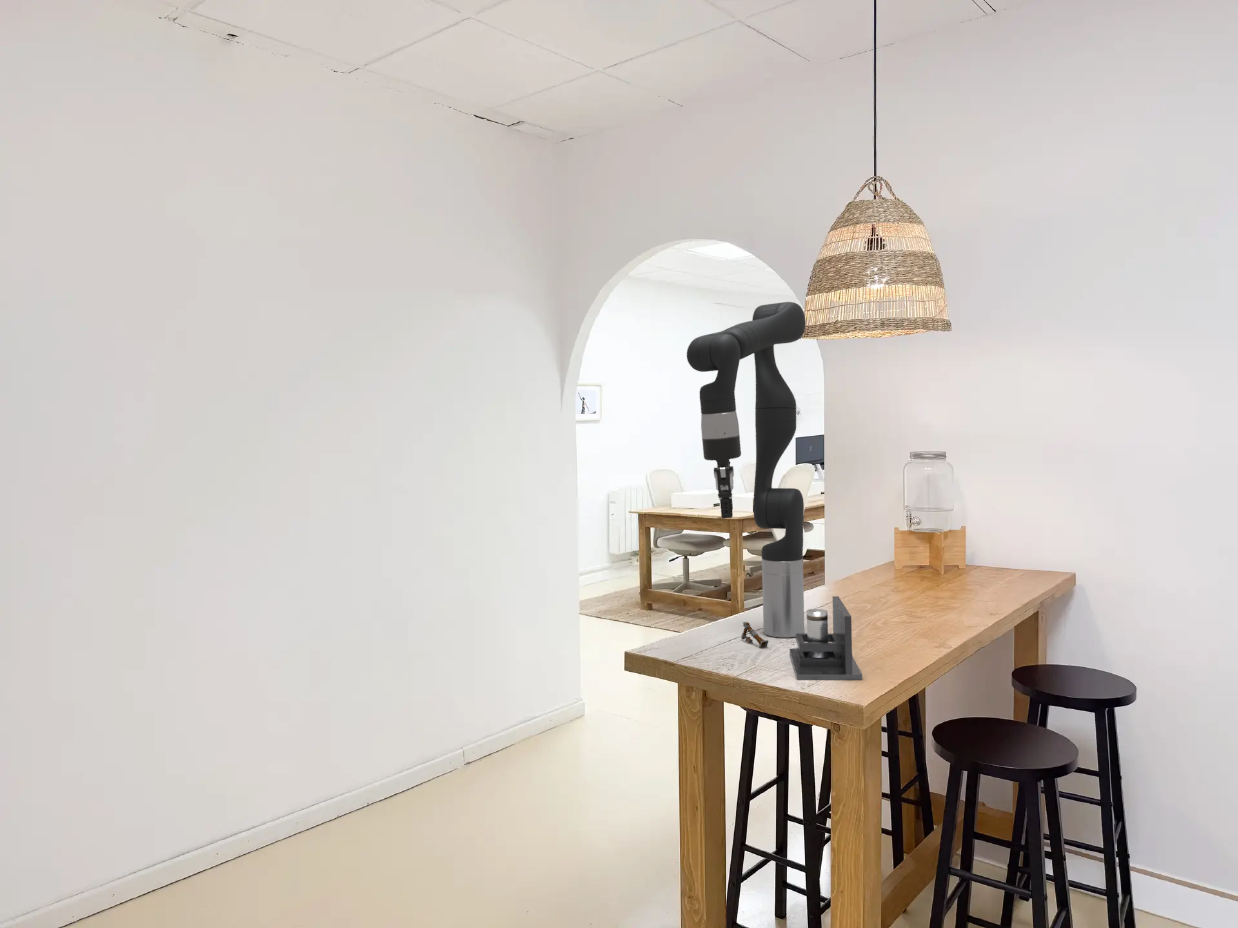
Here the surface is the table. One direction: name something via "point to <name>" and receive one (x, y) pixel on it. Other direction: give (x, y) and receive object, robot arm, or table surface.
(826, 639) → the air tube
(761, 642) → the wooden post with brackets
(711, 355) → the robot arm
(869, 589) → the table surface
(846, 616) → the collar stand
